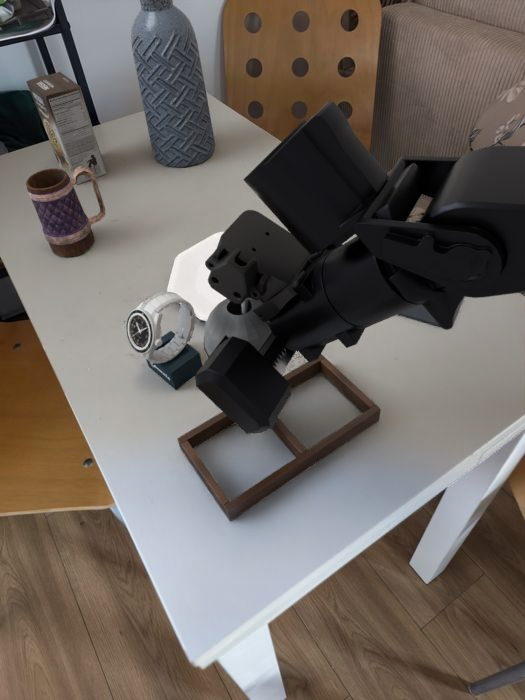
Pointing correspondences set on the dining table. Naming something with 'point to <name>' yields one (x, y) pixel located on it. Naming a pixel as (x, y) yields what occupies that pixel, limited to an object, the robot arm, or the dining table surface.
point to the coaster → (420, 315)
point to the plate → (196, 277)
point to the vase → (171, 85)
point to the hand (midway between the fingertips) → (233, 348)
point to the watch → (165, 339)
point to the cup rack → (282, 439)
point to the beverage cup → (235, 326)
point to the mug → (64, 210)
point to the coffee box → (67, 124)
